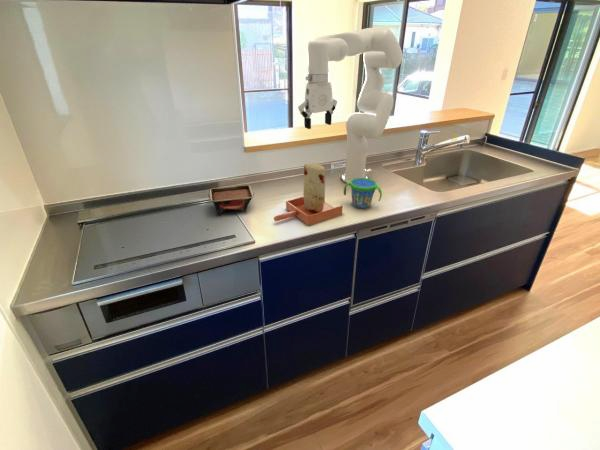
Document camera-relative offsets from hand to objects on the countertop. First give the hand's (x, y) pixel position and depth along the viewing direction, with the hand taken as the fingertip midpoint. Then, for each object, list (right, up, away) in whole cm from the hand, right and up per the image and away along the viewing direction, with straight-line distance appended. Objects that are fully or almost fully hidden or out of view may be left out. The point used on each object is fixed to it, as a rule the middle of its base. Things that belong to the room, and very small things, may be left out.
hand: (318, 126), depth 133 cm
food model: (-1, -33, +7) cm, 33 cm away
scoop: (-6, -34, +4) cm, 35 cm away
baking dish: (-35, -31, +11) cm, 48 cm away
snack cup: (+19, -30, +12) cm, 37 cm away
